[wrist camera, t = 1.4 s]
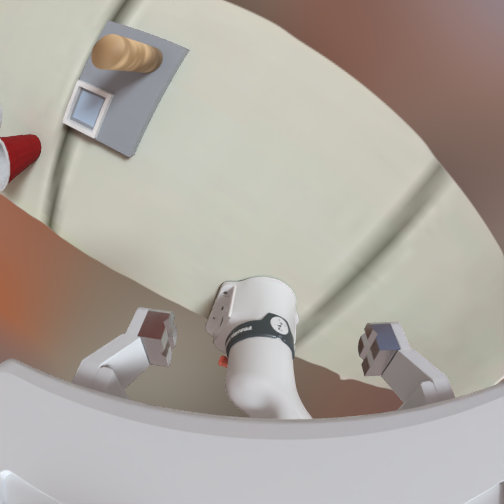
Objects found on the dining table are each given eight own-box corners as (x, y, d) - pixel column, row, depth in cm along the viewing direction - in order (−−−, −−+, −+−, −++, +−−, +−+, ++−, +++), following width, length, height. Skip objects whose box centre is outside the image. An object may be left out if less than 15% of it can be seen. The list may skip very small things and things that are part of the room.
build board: (134, 154, 43) (126, 158, 40) (69, 121, 39) (59, 123, 36) (189, 50, 34) (184, 47, 31) (113, 22, 30) (105, 19, 27)
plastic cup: (16, 125, 38) (-23, 139, 28) (48, 120, 38) (6, 133, 28) (19, 171, 44) (-16, 192, 33) (50, 171, 44) (12, 193, 34)
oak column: (153, 77, 34) (112, 74, 23) (131, 67, 33) (85, 63, 22) (168, 52, 32) (130, 39, 21) (144, 43, 31) (102, 30, 20)
